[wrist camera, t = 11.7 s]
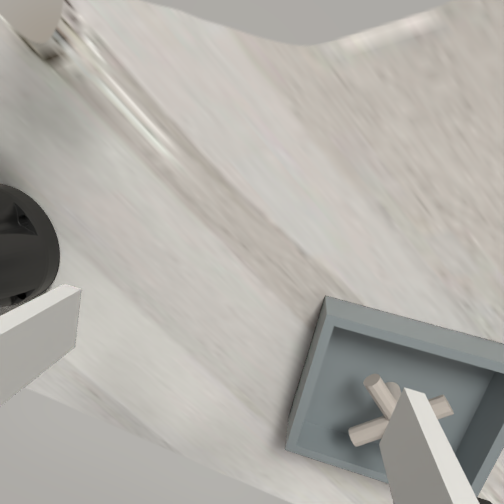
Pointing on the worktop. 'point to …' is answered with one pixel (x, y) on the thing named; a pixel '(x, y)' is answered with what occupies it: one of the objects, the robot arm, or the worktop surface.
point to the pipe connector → (388, 409)
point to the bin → (405, 375)
